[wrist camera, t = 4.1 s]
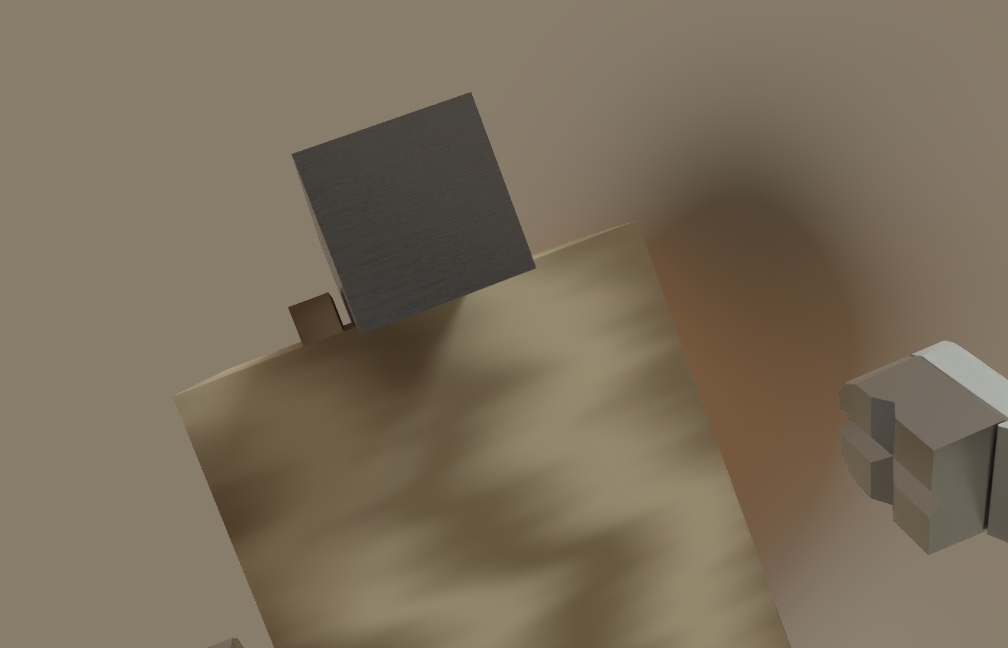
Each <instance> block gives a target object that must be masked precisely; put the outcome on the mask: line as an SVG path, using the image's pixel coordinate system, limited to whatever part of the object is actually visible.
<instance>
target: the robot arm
mask: <svg viewBox="0 0 1008 648" xmlns="http://www.w3.org/2000/svg"><path fill="white" fill-rule="evenodd" d="M839 399H840V409H841V410H843V411H844V412H845V413H846V414H847V415H848V416H849V419H848V421H847V422H846V424H845V426H844V428H843V429H842V431H841V433H840V437H841V452H842V455H843V457H844V460H845V463H846V465H847V468H848V470H849V472H850V474H851V475H852V477H853V478H854V480H855V481H856V483H857V484H858V485H859V486H860V487H861V489H862V490H863V491H864V492H865V493H866V494H867V495H868V496H869V497H870V498H872V499H875V500H878V501H882V502H885V503H888V504H891V505H893V521H894V522H895V523H896V524H897V525H898V526H899V527H900V528H901V529H902V530H903V531H904V532H905V533H906V534H907V535H908V536H909V537H910V538H911V539H912V540H913V541H914V542H915V543H916V544H918V546H919V547H921V548H922V549H923V550H924V551H925V552H926V553H927V554H928V555H930V554H932V553H935V552H937V551H940V550H942V549H944V548H947V547H949V546H951V545H954V544H956V543H958V542H961V541H963V540H966V539H968V538H970V537H973V536H975V535H978V534H980V533H983V532H985V531H987V534H988V535H990V536H993V537H995V538H998V539H1000V540H1003V541H1005V542H1008V380H1007V379H1005V378H1004V377H1003V376H1001V375H1000V374H998V373H997V372H996V371H994V370H993V369H991V368H990V367H988V366H987V365H986V364H984V363H983V362H981V361H980V360H978V359H977V358H976V357H974V356H972V355H971V354H970V353H968V352H967V351H965V350H964V349H962V348H961V347H960V346H958V345H957V344H955V343H953V342H948V341H942V342H940V343H937V344H935V345H933V346H930V347H928V348H926V349H924V350H921V351H919V352H916V353H914V354H911V355H910V356H909V357H904V358H902V359H900V360H897V361H895V362H893V363H890V364H888V365H886V366H883V367H881V368H879V369H877V370H874V371H872V372H869V373H867V374H865V375H862V376H860V377H858V378H855V379H853V380H851V381H848V382H846V383H844V384H843V386H842V388H841V390H840V395H839ZM208 648H243V646H242V644H241V643H240V642H239V640H238V639H236V638H231V639H229V640H226V641H224V642H221V643H219V644H216V645H214V646H211V647H208Z"/></svg>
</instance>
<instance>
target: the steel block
mask: <svg viewBox="0 0 1008 648" xmlns="http://www.w3.org/2000/svg"><path fill="white" fill-rule="evenodd" d="M292 157H293V160H294V163H295V166H296V169H297V172H298V175H299V178H300V181H301V184H302V188H303V191H304V194H305V197H306V200H307V203H308V206H309V209H310V212H311V215H312V218H313V221H314V225H315V227H316V231H317V234H318V237H319V240H320V243H321V246H322V249H323V251H324V254H325V257H326V259H327V261H328V264H329V267H330V269H331V272H332V275H333V277H334V280H335V282H336V285H337V287H338V290H339V293H340V295H341V298H342V300H343V303H344V306H345V307H346V311H347V313H348V316H349V318H350V321H351V323H352V324H353V325H354V326H355V327H356V329H357V330H358V331H359V332H360V334H361V335H362V334H365V333H368V332H370V331H373V330H376V329H378V328H381V327H383V326H386V325H389V324H391V323H394V322H397V321H399V320H402V319H404V318H407V317H410V316H412V315H415V314H418V313H420V312H423V311H425V310H428V309H431V308H433V307H436V306H439V305H441V304H444V303H446V302H449V301H452V300H454V299H457V298H460V297H462V296H465V295H467V294H470V293H473V292H475V291H478V290H481V289H483V288H486V287H488V286H491V285H494V284H496V283H499V282H502V281H504V280H507V279H509V278H512V277H515V276H517V275H520V274H523V273H525V272H528V271H531V270H533V269H536V266H535V263H534V260H533V258H532V255H531V253H530V250H529V247H528V244H527V242H526V239H525V236H524V234H523V231H522V228H521V226H520V223H519V220H518V217H517V215H516V212H515V209H514V207H513V204H512V201H511V199H510V196H509V193H508V190H507V188H506V185H505V183H504V180H503V177H502V174H501V172H500V169H499V166H498V163H497V161H496V158H495V156H494V153H493V150H492V147H491V145H490V142H489V139H488V137H487V134H486V131H485V129H484V126H483V123H482V120H481V118H480V115H479V112H478V110H477V107H476V104H475V102H474V99H473V96H472V94H471V92H470V93H467V94H464V95H461V96H458V97H456V98H453V99H450V100H447V101H444V102H441V103H438V104H436V105H432V106H429V107H427V108H424V109H421V110H418V111H415V112H412V113H409V114H407V115H404V116H401V117H398V118H395V119H392V120H389V121H386V122H383V123H381V124H377V125H375V126H372V127H369V128H366V129H363V130H360V131H357V132H355V133H352V134H349V135H346V136H343V137H340V138H337V139H334V140H331V141H328V142H326V143H323V144H320V145H317V146H314V147H311V148H308V149H305V150H303V151H299V152H297V153H294V154H292Z"/></svg>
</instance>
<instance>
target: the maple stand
mask: <svg viewBox="0 0 1008 648" xmlns="http://www.w3.org/2000/svg"><path fill="white" fill-rule="evenodd" d="M532 258H533V260H534V263H535V266H536V269H533V270H531V271H528V272H525V273H523V274H520V275H517V276H515V277H512V278H509V279H507V280H504V281H502V282H499V283H496V284H494V285H491V286H488V287H486V288H483V289H481V290H478V291H475V292H473V293H470V294H467V295H465V296H462V297H460V298H457V299H454V300H452V301H449V302H446V303H444V304H441V305H439V306H436V307H433V308H431V309H428V310H425V311H423V312H420V313H418V314H415V315H412V316H410V317H407V318H404V319H402V320H399V321H397V322H394V323H391V324H389V325H386V326H383V327H381V328H378V329H376V330H373V331H370V332H368V333H365V334H362V335H361V334H360V332H359V331H358V330H357V329H356V327H355V326H354V325H353V324H352V323H349V324H347V325H344V326H343V324H342V321H341V319H340V316H339V314H338V311H337V309H336V306H335V304H334V301H333V298H332V297H331V296H330V294H329V293H325V294H323V295H320V296H317V297H315V298H312V299H309V300H307V301H304V302H301V303H298V304H296V305H293V306H290V307H288V308H289V311H290V313H291V316H292V318H293V321H294V324H295V326H296V329H297V331H298V334H299V336H300V339H301V341H302V342H299V343H296V344H294V345H291V346H288V347H286V348H283V349H280V350H278V351H275V352H272V353H270V354H267V355H265V356H262V357H259V358H257V359H254V360H251V361H249V362H246V363H243V364H241V365H238V366H235V367H233V368H230V369H227V370H225V371H223V372H221V373H219V374H217V375H215V376H213V377H211V378H209V379H207V380H205V381H203V382H200V383H198V384H196V385H194V386H192V387H190V388H189V389H186V390H184V391H182V392H180V393H178V394H176V395H174V396H173V398H174V401H175V403H176V406H177V408H178V411H179V413H180V416H181V418H182V421H183V423H184V426H185V428H186V430H187V433H188V436H189V438H190V440H191V443H192V445H193V448H194V450H195V453H196V455H197V458H198V460H199V463H200V465H201V467H202V470H203V473H204V475H205V478H206V480H207V483H208V485H209V487H210V490H211V492H212V495H213V497H214V500H215V502H216V505H217V507H218V510H219V512H220V515H221V517H222V519H223V522H224V525H225V527H226V530H227V532H228V534H229V537H230V539H231V542H232V544H233V547H234V549H235V552H236V554H237V556H238V559H239V562H240V564H241V566H242V569H243V572H244V574H245V577H246V579H247V581H248V583H249V586H250V589H251V591H252V594H253V596H254V599H255V601H256V604H257V606H258V609H259V611H260V614H261V616H262V619H263V621H264V623H265V626H266V628H267V631H268V633H269V636H270V638H271V641H272V643H273V646H274V648H791V646H790V643H789V641H788V638H787V635H786V632H785V629H784V627H783V624H782V621H781V619H780V616H779V613H778V610H777V607H776V605H775V602H774V600H773V596H772V594H771V591H770V588H769V585H768V583H767V580H766V577H765V574H764V571H763V569H762V566H761V563H760V560H759V558H758V555H757V552H756V549H755V547H754V544H753V541H752V538H751V536H750V533H749V530H748V527H747V525H746V522H745V519H744V516H743V514H742V511H741V508H740V505H739V502H738V500H737V497H736V494H735V492H734V489H733V486H732V483H731V480H730V478H729V475H728V472H727V469H726V467H725V464H724V461H723V459H722V456H721V453H720V450H719V447H718V445H717V442H716V439H715V436H714V434H713V431H712V428H711V425H710V422H709V420H708V417H707V414H706V411H705V409H704V406H703V403H702V400H701V398H700V395H699V392H698V389H697V386H696V384H695V381H694V378H693V375H692V373H691V370H690V367H689V364H688V362H687V359H686V356H685V353H684V351H683V348H682V345H681V342H680V340H679V337H678V334H677V331H676V328H675V326H674V323H673V320H672V317H671V315H670V312H669V309H668V307H667V304H666V301H665V298H664V295H663V293H662V290H661V287H660V285H659V282H658V279H657V276H656V273H655V271H654V268H653V265H652V262H651V259H650V257H649V254H648V251H647V248H646V246H645V243H644V240H643V238H642V235H641V232H640V229H639V226H638V224H637V221H633V222H630V223H627V224H624V225H620V226H617V227H614V228H611V229H608V230H604V231H601V232H598V233H595V234H592V235H588V236H585V237H582V238H579V239H576V240H573V241H569V242H566V243H563V244H560V245H556V246H553V247H551V248H548V249H545V250H543V251H540V252H537V253H534V254H532Z"/></svg>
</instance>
